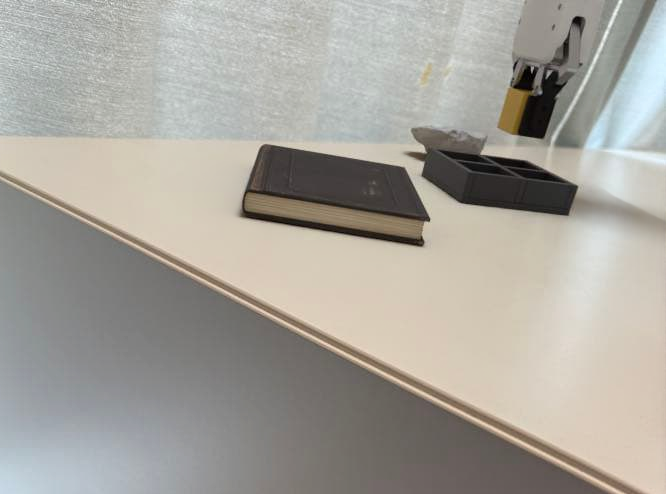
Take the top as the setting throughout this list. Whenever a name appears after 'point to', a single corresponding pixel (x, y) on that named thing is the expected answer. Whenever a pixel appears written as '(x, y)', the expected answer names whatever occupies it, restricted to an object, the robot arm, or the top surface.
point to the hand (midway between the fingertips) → (521, 130)
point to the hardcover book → (334, 194)
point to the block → (514, 110)
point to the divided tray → (498, 181)
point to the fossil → (449, 139)
